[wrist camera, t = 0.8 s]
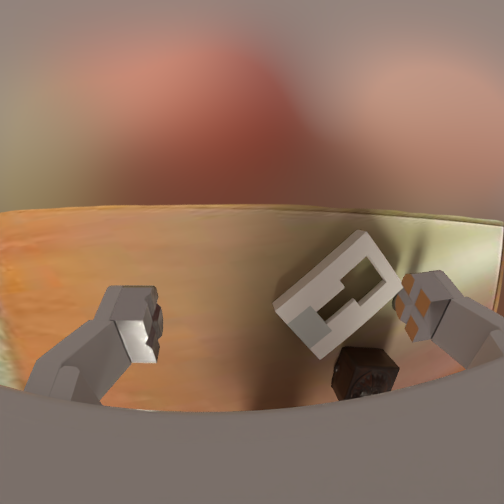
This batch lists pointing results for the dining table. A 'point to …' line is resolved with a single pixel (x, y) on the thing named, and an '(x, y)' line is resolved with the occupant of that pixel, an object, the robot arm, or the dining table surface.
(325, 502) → the robot arm
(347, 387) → the manual coffee grinder
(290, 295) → the keyhole board
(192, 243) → the dining table surface
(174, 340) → the dining table surface
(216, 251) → the dining table surface
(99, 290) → the dining table surface
